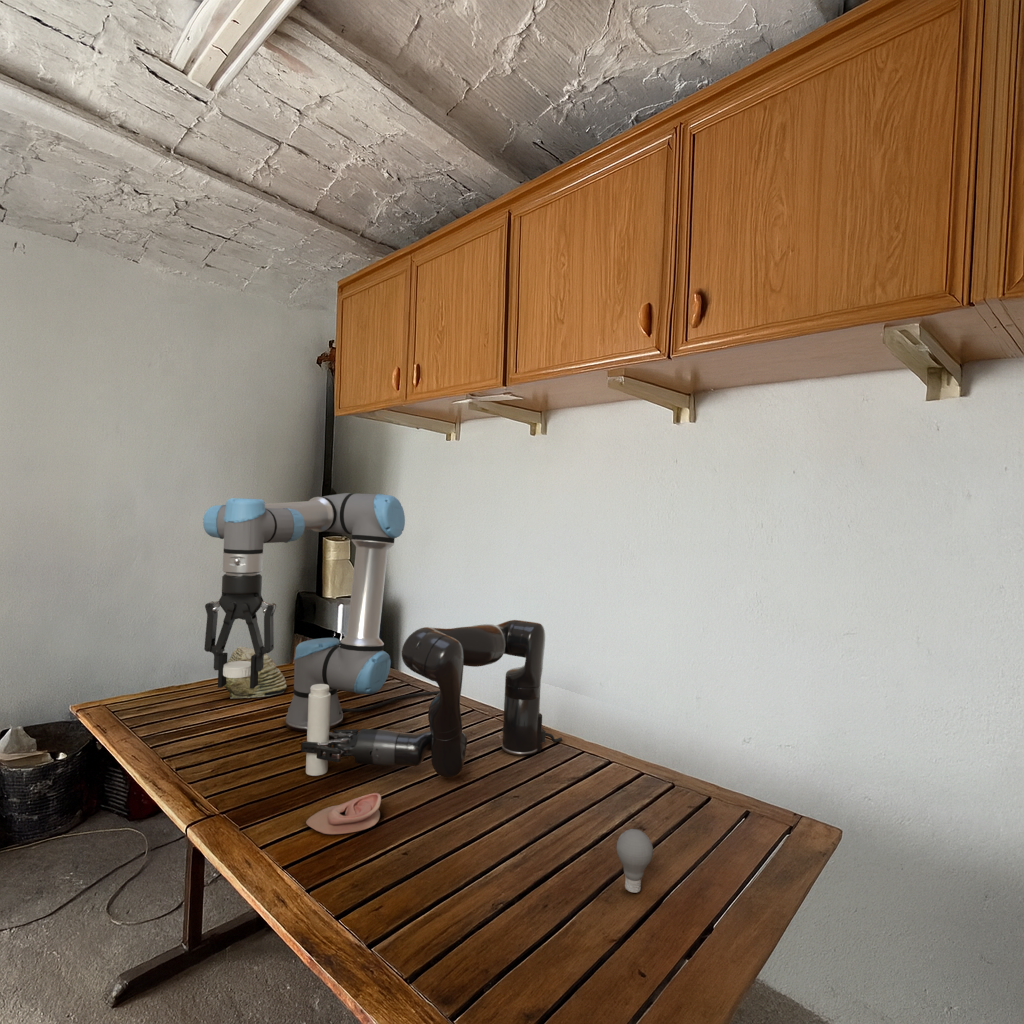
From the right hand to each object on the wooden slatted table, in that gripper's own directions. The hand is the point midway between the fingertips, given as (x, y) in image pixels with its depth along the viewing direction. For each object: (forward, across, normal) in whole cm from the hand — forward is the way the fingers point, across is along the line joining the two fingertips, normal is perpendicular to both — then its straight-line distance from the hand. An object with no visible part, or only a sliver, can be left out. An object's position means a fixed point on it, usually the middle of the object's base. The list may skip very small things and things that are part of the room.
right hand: (306, 742), depth 146 cm
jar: (-3, 0, +7) cm, 7 cm away
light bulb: (-70, +36, +7) cm, 79 cm away
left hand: (+9, +16, -17) cm, 25 cm away
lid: (+9, +16, -21) cm, 28 cm away
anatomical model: (-16, +21, +7) cm, 27 cm away
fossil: (+36, -50, +7) cm, 62 cm away
